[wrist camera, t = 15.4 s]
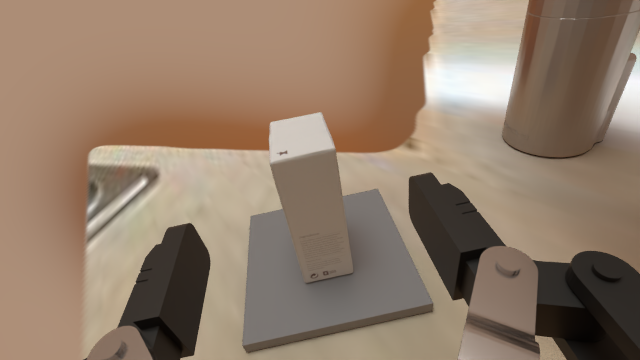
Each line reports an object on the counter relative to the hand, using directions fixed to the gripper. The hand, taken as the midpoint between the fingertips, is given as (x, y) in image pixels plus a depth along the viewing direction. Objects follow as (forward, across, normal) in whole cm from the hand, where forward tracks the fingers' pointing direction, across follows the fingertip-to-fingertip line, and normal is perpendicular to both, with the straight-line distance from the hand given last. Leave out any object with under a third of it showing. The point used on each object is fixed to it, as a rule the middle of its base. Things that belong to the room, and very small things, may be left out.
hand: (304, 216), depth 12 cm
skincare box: (+10, 0, +14) cm, 18 cm away
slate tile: (+10, 0, +15) cm, 18 cm away
